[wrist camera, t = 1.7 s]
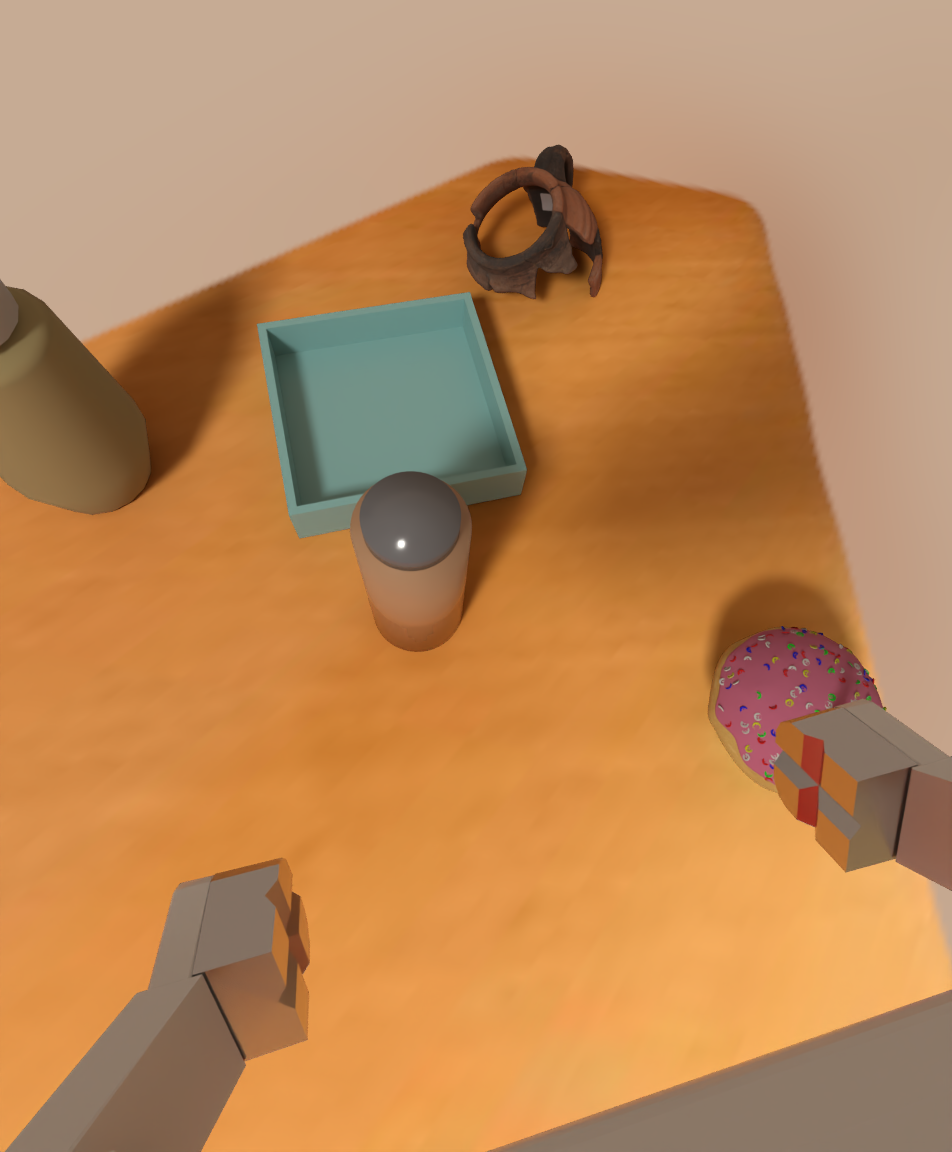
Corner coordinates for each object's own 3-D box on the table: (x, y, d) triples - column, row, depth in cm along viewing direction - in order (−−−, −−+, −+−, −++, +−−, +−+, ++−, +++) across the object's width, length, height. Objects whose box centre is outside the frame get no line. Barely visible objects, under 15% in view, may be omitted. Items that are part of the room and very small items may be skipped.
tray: (299, 538, 39) (289, 515, 36) (268, 356, 44) (257, 324, 41) (520, 494, 41) (527, 469, 38) (467, 324, 46) (469, 292, 43)
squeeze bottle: (83, 402, 42) (-152, 115, 25) (195, 444, 41) (31, 178, 24) (5, 504, 39) (-320, 256, 22) (125, 551, 38) (-118, 332, 21)
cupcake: (845, 800, 35) (1034, 785, 24) (693, 807, 35) (815, 795, 23) (808, 647, 38) (961, 572, 27) (669, 651, 38) (766, 576, 27)
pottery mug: (605, 334, 47) (571, 267, 40) (488, 346, 51) (438, 287, 44) (623, 185, 48) (593, 93, 41) (508, 208, 53) (463, 129, 45)
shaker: (382, 660, 37) (359, 585, 25) (365, 577, 38) (337, 473, 27) (471, 640, 37) (487, 558, 26) (450, 559, 39) (456, 451, 28)
